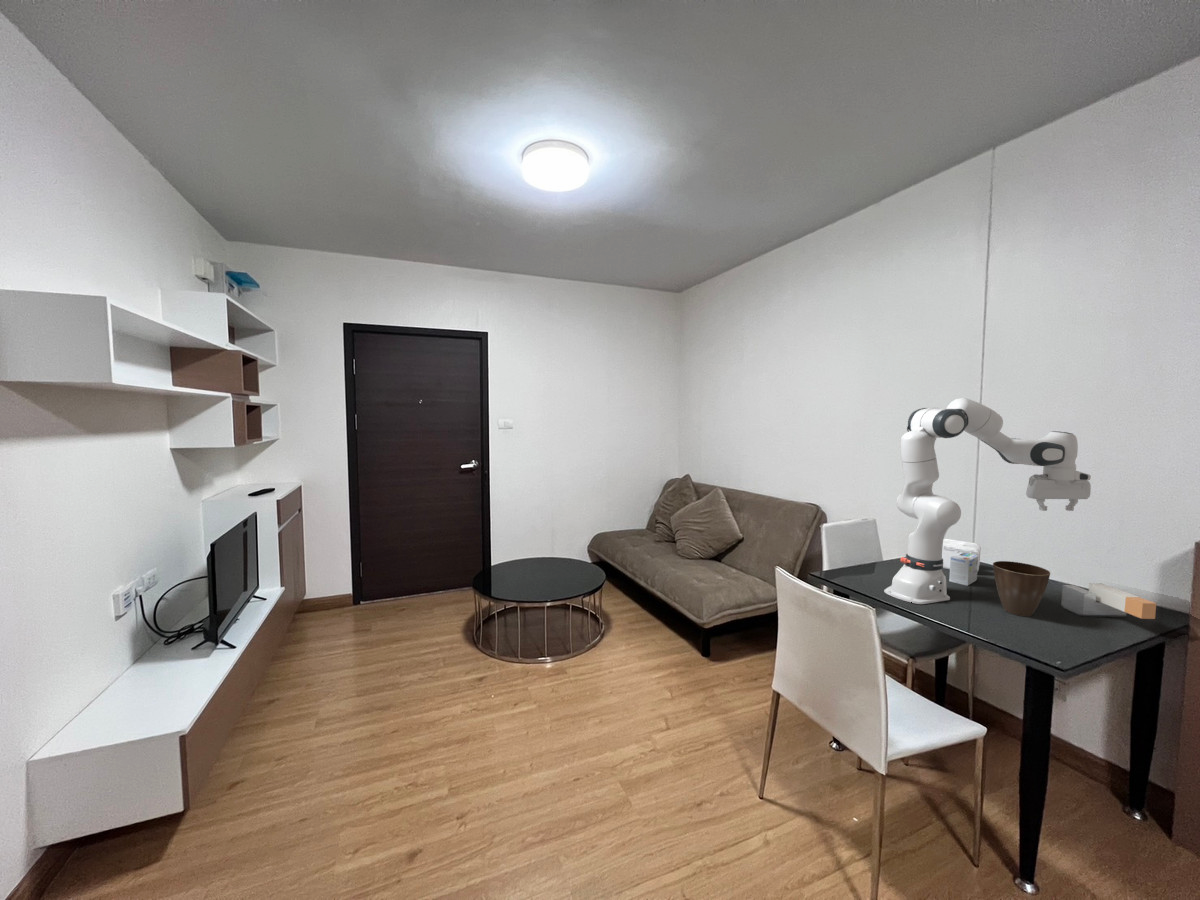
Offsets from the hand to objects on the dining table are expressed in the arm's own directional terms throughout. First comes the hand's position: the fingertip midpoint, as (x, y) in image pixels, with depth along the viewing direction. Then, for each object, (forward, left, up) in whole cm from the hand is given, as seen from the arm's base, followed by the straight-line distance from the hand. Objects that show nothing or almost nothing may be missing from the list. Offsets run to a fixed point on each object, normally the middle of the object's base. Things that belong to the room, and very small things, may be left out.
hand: (1056, 510), depth 178 cm
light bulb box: (-14, +23, -33) cm, 42 cm away
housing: (-8, -14, -32) cm, 36 cm away
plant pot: (-31, -2, -33) cm, 45 cm away
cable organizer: (+1, +32, -33) cm, 46 cm away
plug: (-12, -22, -27) cm, 37 cm away
